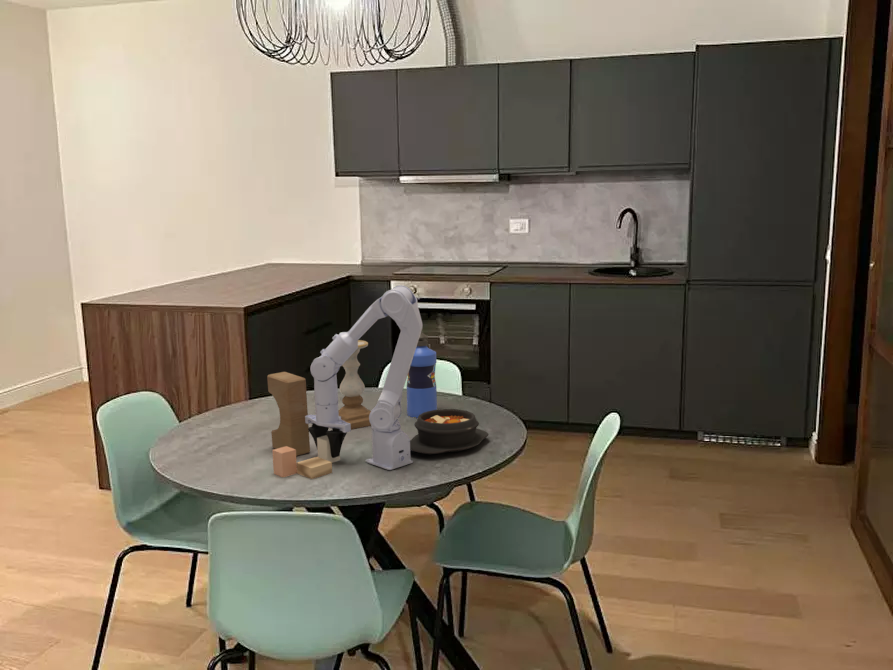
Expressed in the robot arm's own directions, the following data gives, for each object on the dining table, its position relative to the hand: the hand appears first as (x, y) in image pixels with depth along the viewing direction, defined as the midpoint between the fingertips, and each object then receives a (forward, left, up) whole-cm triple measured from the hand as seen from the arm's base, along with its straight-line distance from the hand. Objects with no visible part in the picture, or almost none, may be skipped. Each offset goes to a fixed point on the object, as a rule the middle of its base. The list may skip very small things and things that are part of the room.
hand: (329, 454), depth 204 cm
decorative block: (+14, +2, -2) cm, 14 cm away
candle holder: (+22, -25, -2) cm, 33 cm away
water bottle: (+14, -45, -2) cm, 47 cm away
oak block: (-5, +8, -2) cm, 10 cm away
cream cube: (0, 0, -2) cm, 2 cm away
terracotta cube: (0, +13, -2) cm, 13 cm away
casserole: (-14, -28, -2) cm, 31 cm away
